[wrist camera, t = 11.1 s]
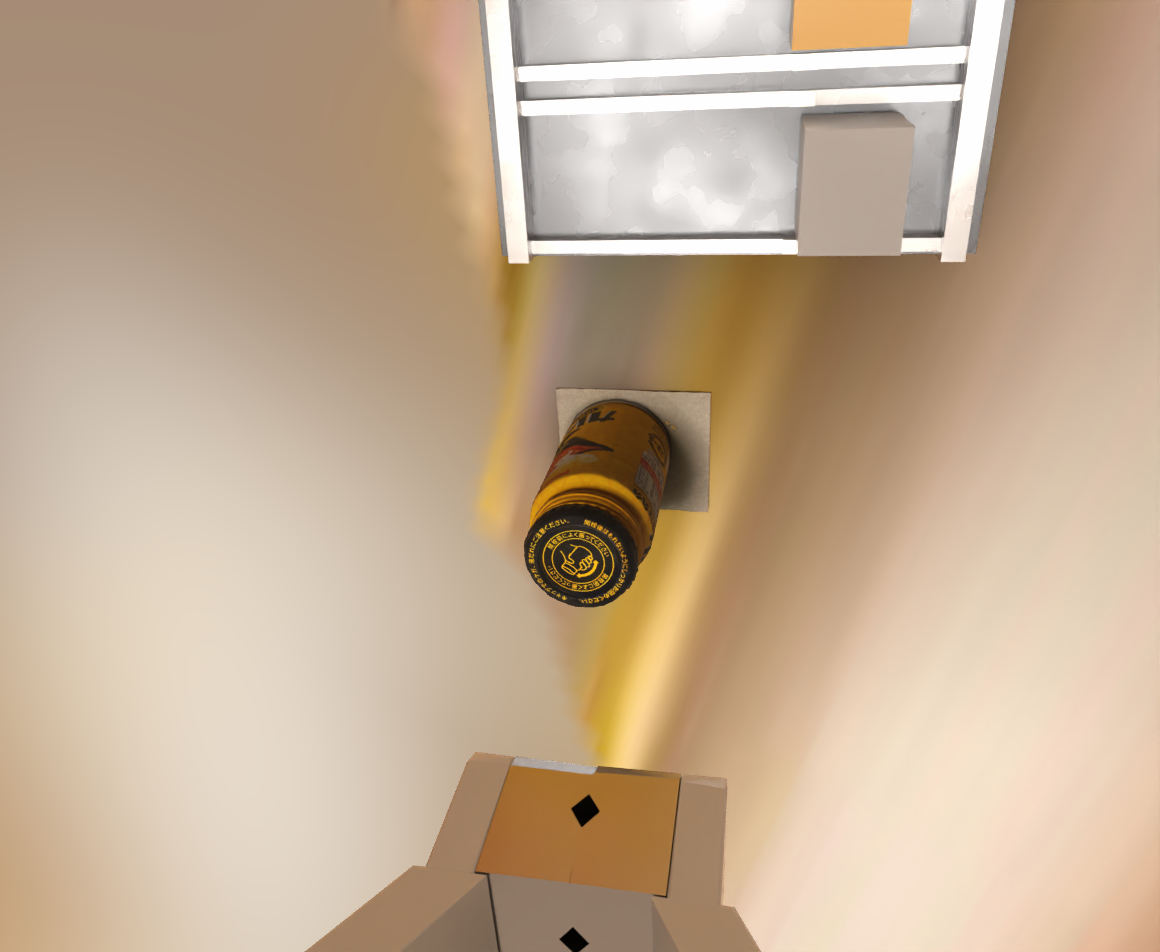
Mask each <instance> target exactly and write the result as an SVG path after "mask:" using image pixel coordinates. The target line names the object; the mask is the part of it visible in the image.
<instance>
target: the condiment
mask: <svg viewBox="0 0 1160 952" xmlns="http://www.w3.org/2000/svg"><path fill="white" fill-rule="evenodd" d="M556 399H557V411H558V424H559V438H560V445H559V447H558V450H557V452H556V455H555V457H554V460H553V462H552V464H551V466H550V469H549V471H548V473H547V475H546V477H545V479H544V481H543V483H542V485H541V487H540V490H539V492H538V494H537V496H536V497H535V500H534V502H533V505H532V509H531V515H530V527H531V528H530V530H529V532H528V535H527V537H526V539H525V542H524V552H525V553H524V556H525V562H526V566H527V569H528V571H529V572H530V574H531V576H532V578H533V580H534V581H535V583H536V584H537V585H539V587H540V588H541V589H542V590H544V591H545V592H546V593H547V595H549V596H550V597H552V598H554V599H556V600H558V601H561V602H564V603H566V604H568V605H572V606H575V607H598V606H604V605H606V604H608V603H610V602H613V601H614V600H615V599H617V598H618V597H619V596H620V595H621V594H623V593H624V592H625V591H626V589H629V588H630V586H631V585H632V582H633V581H634V580H635V577H636V573H637V572H638V566H639V565H640V563H641V562H642V561H643V560H644V558H645V557H646V555H647V554H648V552H649V550H650V548H651V545H652V540H653V537H654V532H655V527H656V523H657V518H658V513H659V509H671V510H683V511H690V512H708V497H709V453H710V444H709V443H710V403H711V393H690V392H660V391H659V392H651V391H634V390H605V389H556ZM665 421H668V422H669V423H670V425H673V426H675V427H676V430H673V429H672V428H671V426H670V425H666V424H665Z"/></svg>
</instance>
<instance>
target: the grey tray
mask: <svg viewBox="0 0 1160 952" xmlns="http://www.w3.org/2000/svg"><path fill="white" fill-rule="evenodd" d="M478 1H479V12H480V23H481V33H482V44H483V55H484V65H485V76H486V87H487V97H488V108H489V119H490V130H491V140H492V151H493V162H494V172H495V183H496V194H497V204H498V215H499V226H500V236H501V247H502V256H508V260H509V263H530V261H531V260H532V259H533V258H534V257H535V256H563V255H773V254H797V249H796V239H795V228H794V227H795V210H796V194H797V177H798V161H799V144H800V127H801V115H809V114H839V113H868V112H898V111H899V112H900V113H901V114H902V115H903V116H904V117H905V118H906V119H907V120H908V121H909V122H911V123H912V124H913V125H914V126H915V135H914V144H913V152H912V161H911V170H910V178H909V187H908V195H907V204H906V212H905V221H904V229H903V238H902V246H901V254H936V255H937V257H938V258H939V260H940V262H965V258H966V254H976V248H977V242H978V236H979V229H980V223H981V217H982V210H983V204H984V197H985V191H986V185H987V178H988V172H989V165H990V159H991V153H992V146H993V140H994V134H995V127H996V121H997V114H998V108H999V102H1000V95H1001V89H1002V83H1003V76H1004V70H1005V63H1006V57H1007V51H1008V44H1009V38H1010V31H1011V25H1012V19H1013V12H1014V6H1015V0H912V7H911V16H910V25H909V35H908V44H907V45H903V46H881V47H860V48H839V49H817V50H796V51H792V50H791V47H790V44H789V40H790V21H791V1H792V0H478Z"/></svg>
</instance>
